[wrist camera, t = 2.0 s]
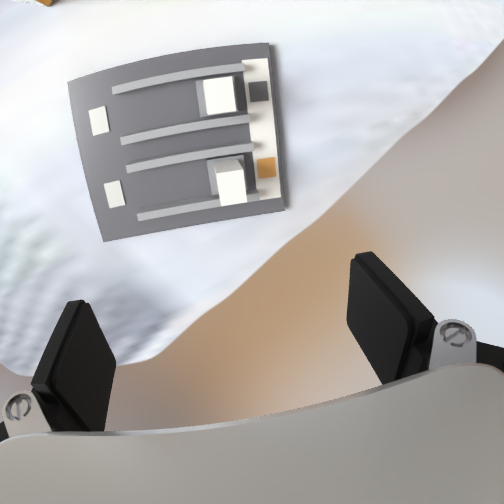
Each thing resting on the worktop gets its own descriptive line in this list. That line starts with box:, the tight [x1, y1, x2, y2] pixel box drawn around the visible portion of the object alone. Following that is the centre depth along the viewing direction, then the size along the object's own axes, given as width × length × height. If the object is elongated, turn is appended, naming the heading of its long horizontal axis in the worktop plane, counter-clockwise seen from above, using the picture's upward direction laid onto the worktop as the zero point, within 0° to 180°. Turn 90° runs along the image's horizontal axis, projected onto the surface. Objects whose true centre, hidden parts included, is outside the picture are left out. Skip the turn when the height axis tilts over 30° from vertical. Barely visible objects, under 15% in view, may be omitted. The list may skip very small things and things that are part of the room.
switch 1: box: [195, 76, 238, 117], centre depth 23 cm, size 3×3×5 cm
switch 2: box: [206, 153, 248, 206], centre depth 26 cm, size 3×3×5 cm
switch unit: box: [68, 43, 285, 242], centre depth 26 cm, size 18×16×2 cm
